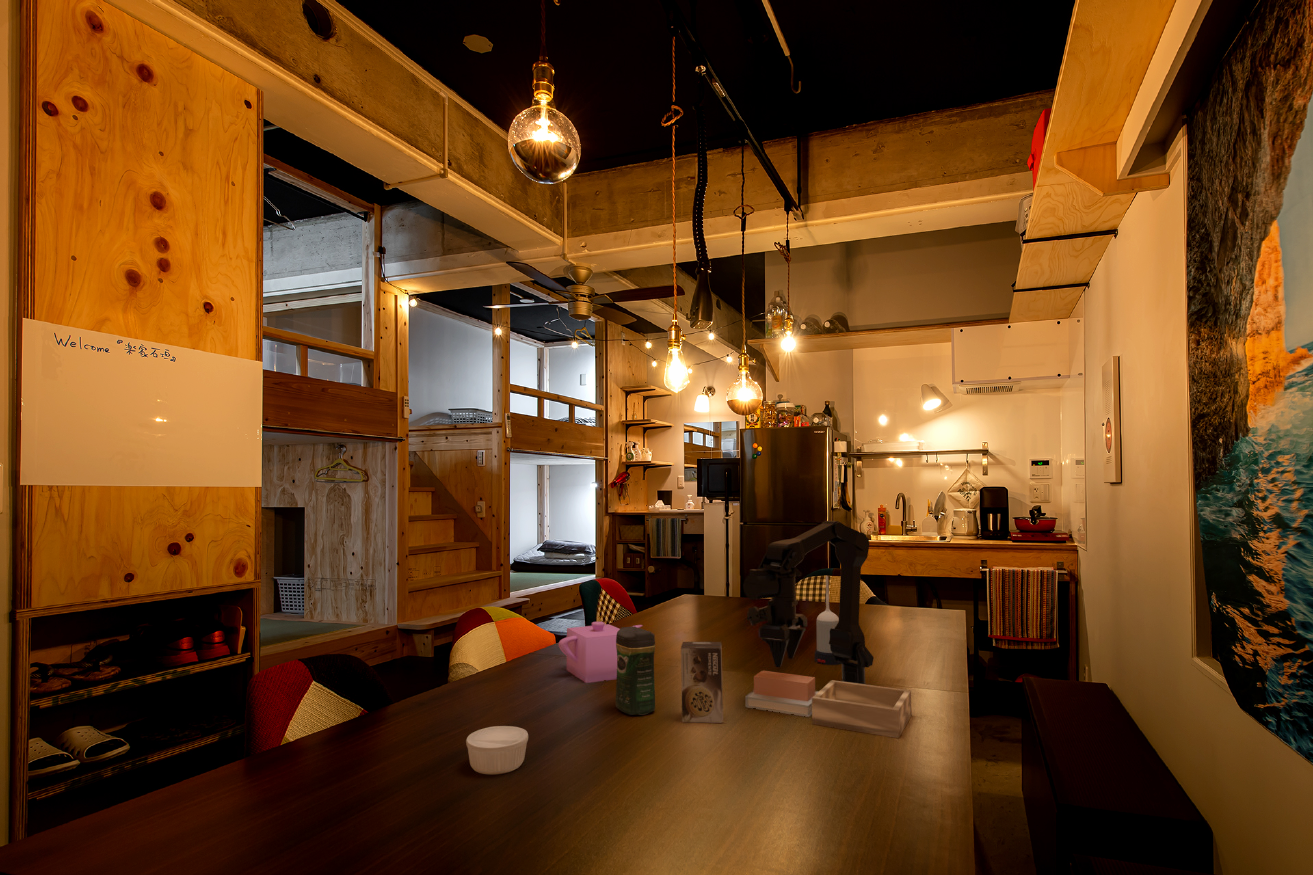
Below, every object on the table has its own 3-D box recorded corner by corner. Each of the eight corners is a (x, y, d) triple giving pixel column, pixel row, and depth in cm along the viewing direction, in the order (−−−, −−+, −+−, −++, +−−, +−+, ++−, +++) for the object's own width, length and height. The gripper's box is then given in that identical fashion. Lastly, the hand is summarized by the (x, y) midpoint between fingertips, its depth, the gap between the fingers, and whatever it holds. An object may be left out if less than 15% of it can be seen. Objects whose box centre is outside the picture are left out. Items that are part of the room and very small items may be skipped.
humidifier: (815, 664, 202) (814, 577, 204) (813, 657, 210) (812, 574, 212) (844, 665, 201) (842, 578, 203) (841, 658, 209) (839, 574, 211)
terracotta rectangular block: (762, 687, 169) (762, 670, 170) (815, 694, 163) (815, 677, 163) (754, 693, 164) (753, 676, 164) (807, 701, 158) (807, 683, 158)
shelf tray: (832, 703, 164) (831, 680, 165) (911, 715, 156) (911, 690, 156) (812, 724, 150) (811, 697, 150) (898, 738, 141) (898, 710, 142)
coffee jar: (660, 712, 158) (660, 629, 159) (630, 718, 154) (630, 633, 155) (640, 701, 166) (640, 622, 167) (610, 706, 162) (610, 625, 164)
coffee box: (722, 714, 157) (722, 641, 158) (722, 723, 150) (722, 647, 152) (682, 713, 158) (682, 640, 159) (680, 722, 151) (680, 646, 152)
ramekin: (473, 782, 120) (473, 750, 121) (459, 760, 130) (460, 731, 131) (535, 770, 125) (536, 740, 126) (518, 750, 135) (518, 722, 136)
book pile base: (763, 694, 172) (763, 683, 172) (823, 702, 165) (823, 692, 165) (745, 707, 162) (745, 696, 162) (808, 717, 155) (808, 705, 155)
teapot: (654, 674, 192) (654, 622, 193) (568, 685, 180) (568, 630, 181) (631, 662, 205) (631, 614, 206) (549, 672, 194) (550, 621, 195)
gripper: (764, 588, 178) (765, 651, 176) (736, 598, 161) (737, 667, 160) (807, 591, 172) (808, 655, 171) (783, 602, 156) (784, 673, 155)
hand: (784, 662), depth 164 cm, fingers open, 9 cm apart
